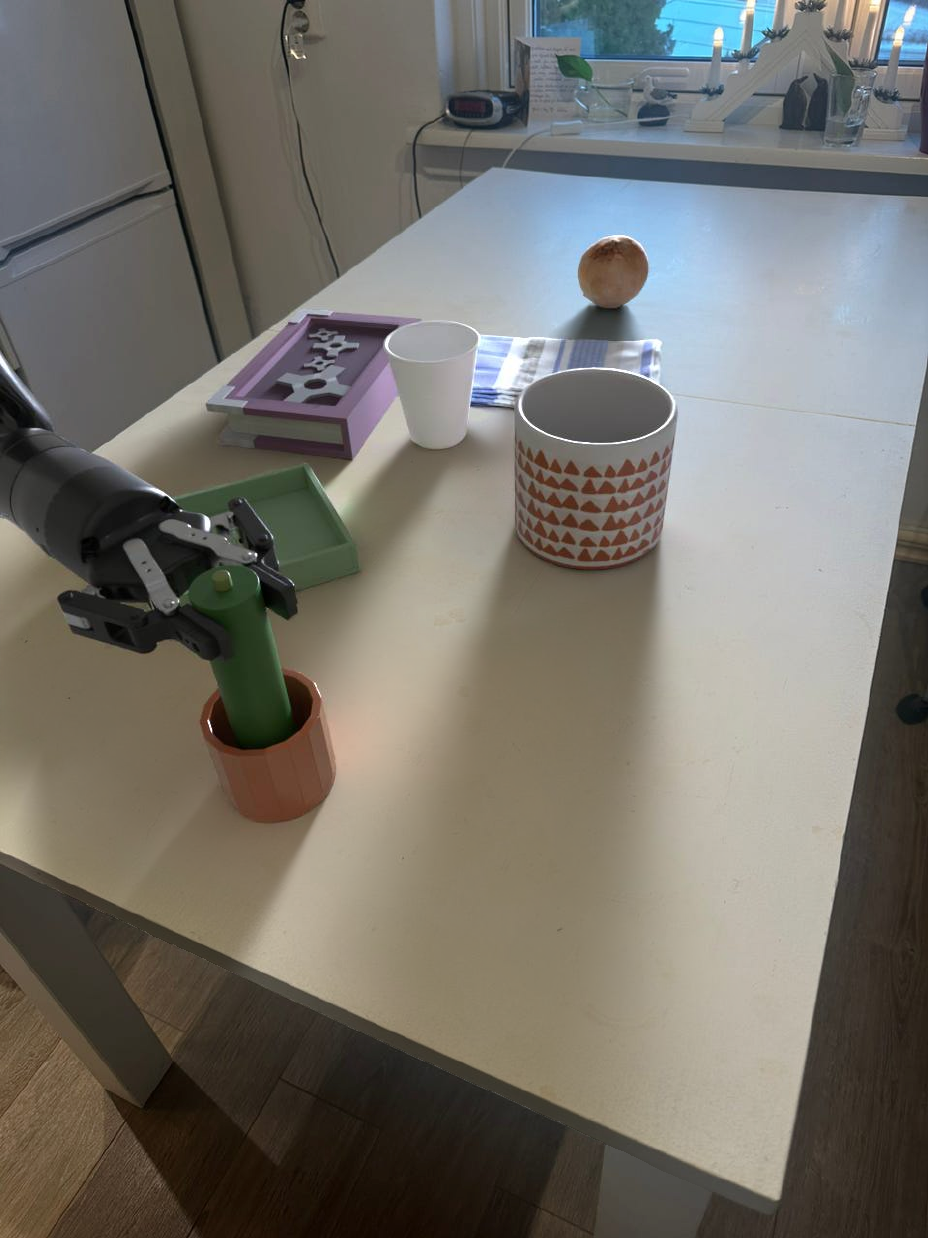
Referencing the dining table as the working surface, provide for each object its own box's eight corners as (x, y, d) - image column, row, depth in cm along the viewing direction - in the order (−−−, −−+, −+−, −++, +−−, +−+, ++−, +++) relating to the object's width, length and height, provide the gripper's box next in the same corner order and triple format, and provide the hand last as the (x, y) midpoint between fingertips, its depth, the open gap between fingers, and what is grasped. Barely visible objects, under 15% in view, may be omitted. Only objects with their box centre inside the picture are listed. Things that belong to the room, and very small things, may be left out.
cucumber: (250, 787, 58) (191, 606, 47) (236, 745, 61) (178, 565, 50) (308, 766, 59) (263, 585, 48) (292, 726, 62) (247, 546, 51)
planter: (554, 589, 75) (558, 461, 67) (492, 506, 85) (488, 386, 77) (690, 548, 79) (711, 422, 70) (616, 473, 88) (626, 355, 80)
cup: (467, 466, 91) (462, 367, 83) (379, 453, 93) (367, 356, 86) (495, 419, 98) (493, 324, 90) (412, 409, 100) (404, 316, 93)
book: (307, 345, 114) (301, 308, 111) (425, 355, 111) (422, 317, 107) (216, 444, 96) (205, 403, 93) (352, 460, 93) (346, 418, 89)
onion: (603, 335, 120) (593, 281, 111) (571, 294, 124) (559, 239, 115) (664, 300, 119) (659, 243, 111) (630, 260, 124) (622, 203, 115)
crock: (238, 840, 58) (214, 773, 53) (214, 756, 63) (190, 689, 58) (350, 797, 60) (336, 730, 55) (317, 720, 65) (302, 653, 61)
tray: (168, 629, 74) (158, 602, 72) (141, 534, 84) (131, 507, 82) (360, 571, 78) (356, 544, 76) (312, 488, 89) (307, 462, 87)
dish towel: (658, 423, 95) (661, 400, 94) (449, 409, 100) (447, 386, 98) (665, 354, 108) (668, 332, 106) (479, 344, 112) (478, 323, 110)
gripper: (-30, 521, 52) (132, 645, 43) (172, 425, 59) (344, 514, 51) (18, 616, 57) (172, 745, 48) (198, 516, 64) (359, 611, 56)
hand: (259, 625), depth 49 cm, fingers closed on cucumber, 4 cm apart
